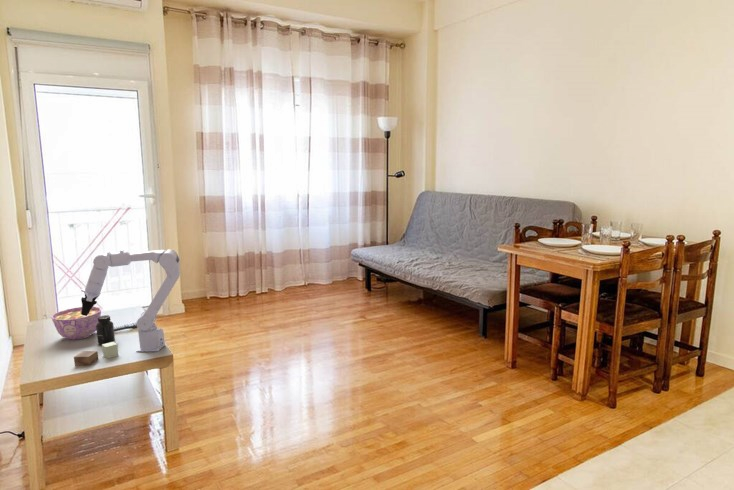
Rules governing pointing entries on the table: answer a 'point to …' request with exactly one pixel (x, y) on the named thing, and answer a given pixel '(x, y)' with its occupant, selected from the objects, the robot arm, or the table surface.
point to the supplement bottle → (105, 330)
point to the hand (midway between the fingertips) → (85, 312)
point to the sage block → (110, 350)
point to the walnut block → (86, 358)
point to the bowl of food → (76, 322)
